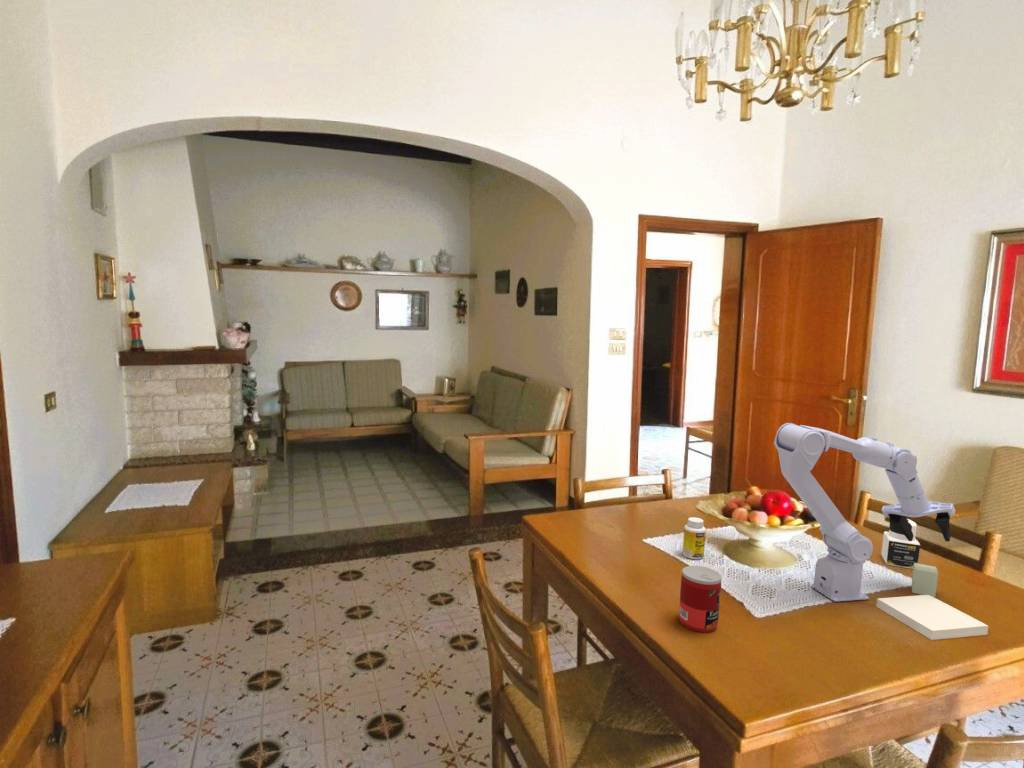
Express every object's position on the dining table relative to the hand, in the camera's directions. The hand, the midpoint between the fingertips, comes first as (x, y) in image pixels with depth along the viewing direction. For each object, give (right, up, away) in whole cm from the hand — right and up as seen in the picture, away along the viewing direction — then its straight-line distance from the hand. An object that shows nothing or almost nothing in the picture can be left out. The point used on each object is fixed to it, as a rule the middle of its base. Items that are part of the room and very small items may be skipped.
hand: (929, 538), depth 142 cm
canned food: (-61, -13, -18) cm, 65 cm away
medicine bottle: (+5, -11, +18) cm, 22 cm away
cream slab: (-9, -15, -13) cm, 22 cm away
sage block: (-1, -13, +1) cm, 13 cm away
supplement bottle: (-51, -10, +18) cm, 55 cm away
